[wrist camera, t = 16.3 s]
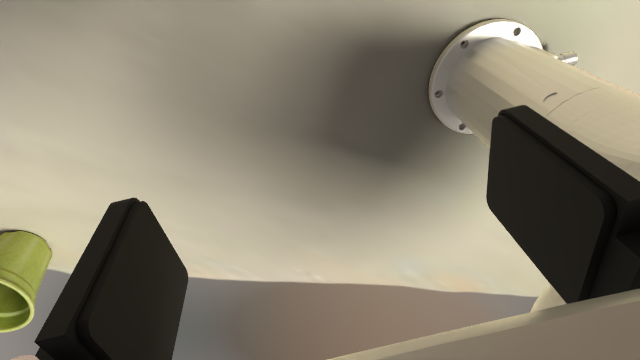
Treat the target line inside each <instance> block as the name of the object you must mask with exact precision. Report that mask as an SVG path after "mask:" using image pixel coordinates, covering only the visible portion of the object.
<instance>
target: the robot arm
mask: <svg viewBox="0 0 640 360" xmlns="http://www.w3.org/2000/svg"><path fill="white" fill-rule="evenodd" d="M462 41H463V42H462ZM461 42H462V44H461ZM577 60H578V57H577V54H576V53H575V52H568V53H564V54H560V55H559V56H556V55H554V54H552V53H549V52H547V51H545V50H543V47H542V44H541V42H540V40H539V38H538V37H537V35H536V34H535V33H534V32H533V31H532V30H531V29H530V28H528V27H527V26H525V25H524V24H521V23H518V22H516V21H512V20H507V19H492V20H488V21H484V22H481V23H478V24H476V25H474V26H472V27H470V28H468V29H467V30H465V31H463V32H462V33H460V34H459V35H458V36H457V37H456V38H455V39H454V40H452V41H451V42H450V43H449V44H448V46H447V47H446V48H445V49H444V51H443V52H442V53H441V55H440V56H439V58H438V60H437V62H436V63H435V66H434V68H433V71H432V73H431V77H430V82H429V100H430V105H431V107H432V109H433V112H434V114H435V115H436V116H437V117H438V119H439V120H440V121H441V122H442V123H443V124H444V125H445V126H447V127H448V128H450V129H451V130H453V131H456V132H459V133H465V134H475V135H476V136H477V137H478V138H479V139H480V140H481V141H482V142H483V143H484V144H485V145H486V146H487V147H488V148H489V149H490V155H489V169H488V182H487V196H486V198H487V203H488V206H489V208H490V210H491V211H492V212H493V214H494V215H495V216H496V217H497V219H498V220H499V221H500V222H501V224H502V225H503V226H504V227H505V228H506V230H507V231H508V232H509V233H510V235H511V236H512V237H513V238H514V240H515V241H516V242H517V243H518V245H519V246H520V247H521V248H522V249H523V251H524V252H525V253H526V254H527V256H528V257H529V258H530V259H531V261H532V262H533V263H534V264H535V266H536V267H537V268H538V269H539V270H540V272H541V273H542V274H543V275H544V277H545V278H546V279H547V280H548V282H549V283H550V284H549V285H548V287H547V288H546V289H545V290H544V291H543V292H542V294H541V295H540V296H539V297H538V299H537V300H536V302H535V303H534V306H533V308H532V310H531V312H530V313H526V314H521V315H516V316H512V317H508V318H504V319H499V320H495V321H490V322H486V323H482V324H478V325H473V326H469V327H464V328H460V329H456V330H452V331H447V332H443V333H438V334H434V335H430V336H425V337H421V338H417V339H413V340H408V341H404V342H400V343H396V344H392V345H387V346H383V347H379V348H375V349H370V350H366V351H362V352H357V353H353V354H349V355H344V356H341V357H336V358H332V359H328V360H640V95H638V94H636V93H634V92H632V91H629V90H627V89H624V88H621V87H619V86H617V85H615V84H612V83H610V82H608V81H606V80H603V79H601V78H599V77H597V76H594V75H592V74H590V73H588V72H585V71H583V70H581V69H579V68H576V67H574V66H572V65H575V64H576V63H577ZM436 91H437V93H436ZM187 283H188V273H187V270H186V268H185V266H184V265H183V263H182V261H181V259H180V258H179V256H178V254H177V253H176V251H175V249H174V248H173V246H172V244H171V243H170V241H169V239H168V238H167V236H166V234H165V233H164V231H163V229H162V228H161V226H160V224H159V223H158V221H157V219H156V217H155V216H154V214H153V212H152V211H151V209H150V207H149V206H148V204H147V203H146V202H145V201H141V202H140V201H139V200H138V199H137V198H130V199H126V200H122V201H117V202H113V203H111V204H110V205H109V207H108V209H107V211H106V213H105V214H104V216H103V218H102V220H101V222H100V223H99V225H98V227H97V229H96V231H95V233H94V234H93V236H92V238H91V240H90V242H89V243H88V245H87V247H86V249H85V251H84V253H83V254H82V256H81V258H80V260H79V262H78V263H77V265H76V267H75V269H74V271H73V273H72V274H71V276H70V278H69V280H68V282H67V284H66V285H65V287H64V289H63V291H62V293H61V294H60V296H59V298H58V300H57V302H56V303H55V305H54V307H53V309H52V311H51V313H50V315H49V316H48V318H47V320H46V322H45V323H44V325H43V327H42V329H41V331H40V333H39V334H38V336H37V338H36V340H35V343H36V344H37V345H39V346H40V348H39V350H38V352H37V354H36V355H35V356H31V355H25V356H19V357H16V358H13V359H11V360H172V355H173V350H174V345H175V341H176V336H177V332H178V327H179V322H180V317H181V312H182V308H183V302H184V298H185V293H186V289H187Z"/></svg>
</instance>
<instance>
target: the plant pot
mask: <svg viewBox="0 0 640 360" xmlns="http://www.w3.org/2000/svg"><path fill="white" fill-rule="evenodd" d="M51 257H52V251H51V250H50V249H49V247H48V245H47V243H46V241H45V240H43V239H42V238H40V237H39V236H37V235H34V234H32V233H28V232H24V231H16V232H10V233H8V232H5V233H3V234H1V235H0V332H9V331H13V330H17V329H19V328H22V327H24V326H26V325H27V324H28V323H29V322H30V321H31V320H32V318H33V316H34V313H35V307H34V304H35V300H36V299H35V296H36V294H37V291H38V288H39V286H40V283H41V281H42V279H43V276H44V274H45V271H46V269H47V267H48V264H49V262H50V260H51Z"/></svg>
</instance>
